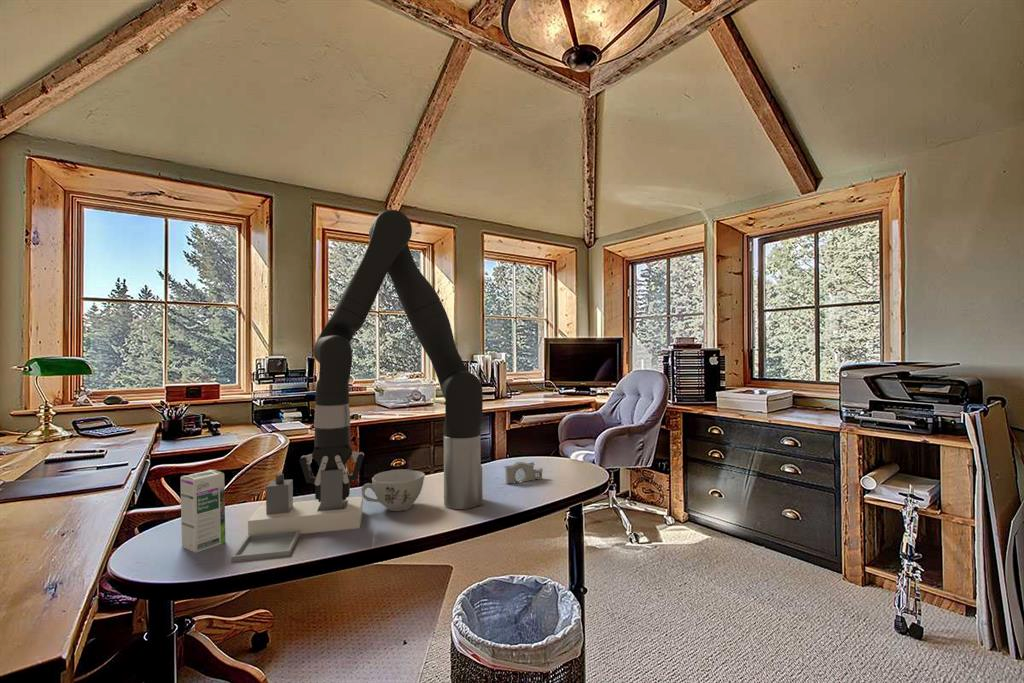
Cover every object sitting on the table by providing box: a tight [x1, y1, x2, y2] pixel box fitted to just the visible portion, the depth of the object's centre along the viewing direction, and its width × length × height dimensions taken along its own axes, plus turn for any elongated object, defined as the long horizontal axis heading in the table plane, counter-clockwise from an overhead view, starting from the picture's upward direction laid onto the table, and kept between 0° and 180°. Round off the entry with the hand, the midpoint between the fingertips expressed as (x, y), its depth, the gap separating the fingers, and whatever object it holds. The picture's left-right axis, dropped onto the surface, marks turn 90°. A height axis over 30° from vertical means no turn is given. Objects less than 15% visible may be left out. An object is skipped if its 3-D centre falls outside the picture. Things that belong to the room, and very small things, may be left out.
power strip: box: [247, 473, 364, 535], centre depth 105 cm, size 22×10×12 cm, turn 104°
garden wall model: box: [504, 461, 544, 485], centre depth 138 cm, size 12×2×6 cm, turn 117°
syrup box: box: [180, 469, 226, 554], centre depth 95 cm, size 6×6×14 cm
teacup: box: [361, 468, 426, 512], centre depth 116 cm, size 15×12×8 cm
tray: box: [230, 530, 301, 563], centre depth 94 cm, size 10×10×1 cm
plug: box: [321, 469, 344, 511], centre depth 107 cm, size 4×4×12 cm
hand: (332, 499), depth 107 cm, fingers closed on plug, 4 cm apart
